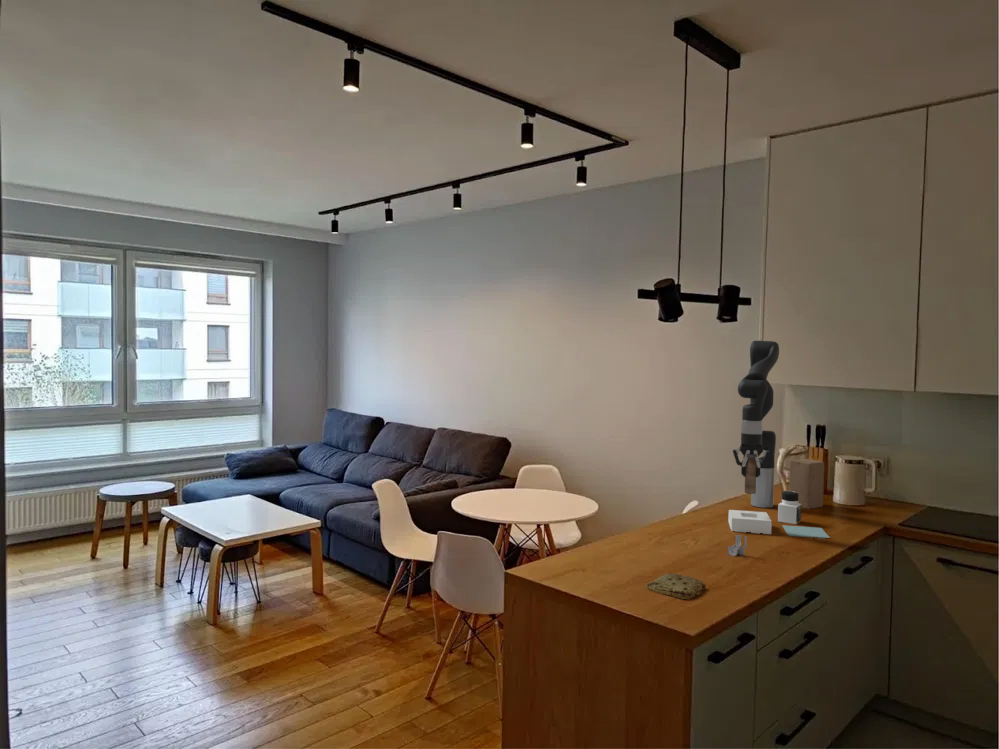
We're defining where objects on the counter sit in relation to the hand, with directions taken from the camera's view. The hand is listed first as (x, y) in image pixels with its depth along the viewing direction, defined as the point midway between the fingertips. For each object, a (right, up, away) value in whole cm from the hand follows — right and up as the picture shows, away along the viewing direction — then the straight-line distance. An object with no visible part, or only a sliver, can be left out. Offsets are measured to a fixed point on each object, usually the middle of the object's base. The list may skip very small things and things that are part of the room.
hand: (750, 476), depth 256 cm
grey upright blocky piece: (-16, -22, -39) cm, 47 cm away
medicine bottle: (+20, -20, +12) cm, 31 cm away
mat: (+19, -20, -4) cm, 28 cm away
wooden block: (+40, -19, +40) cm, 60 cm away
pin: (0, -6, 0) cm, 6 cm away
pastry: (-46, -22, -66) cm, 84 cm away
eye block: (0, -20, +1) cm, 20 cm away
